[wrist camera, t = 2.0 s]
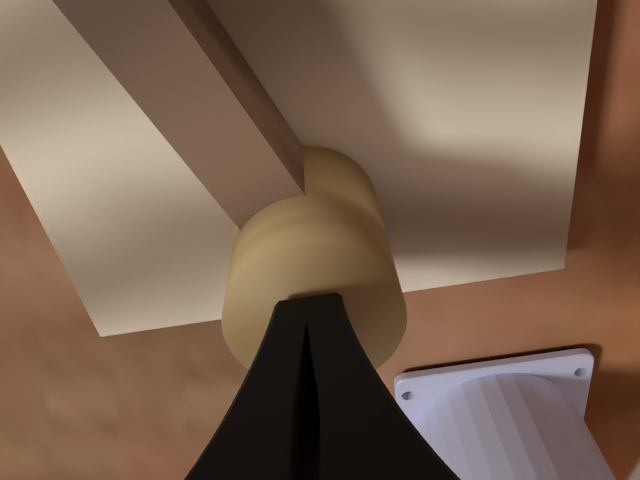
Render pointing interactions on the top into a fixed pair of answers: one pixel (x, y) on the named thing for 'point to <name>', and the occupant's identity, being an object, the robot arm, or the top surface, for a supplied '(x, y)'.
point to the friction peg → (252, 172)
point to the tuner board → (310, 142)
